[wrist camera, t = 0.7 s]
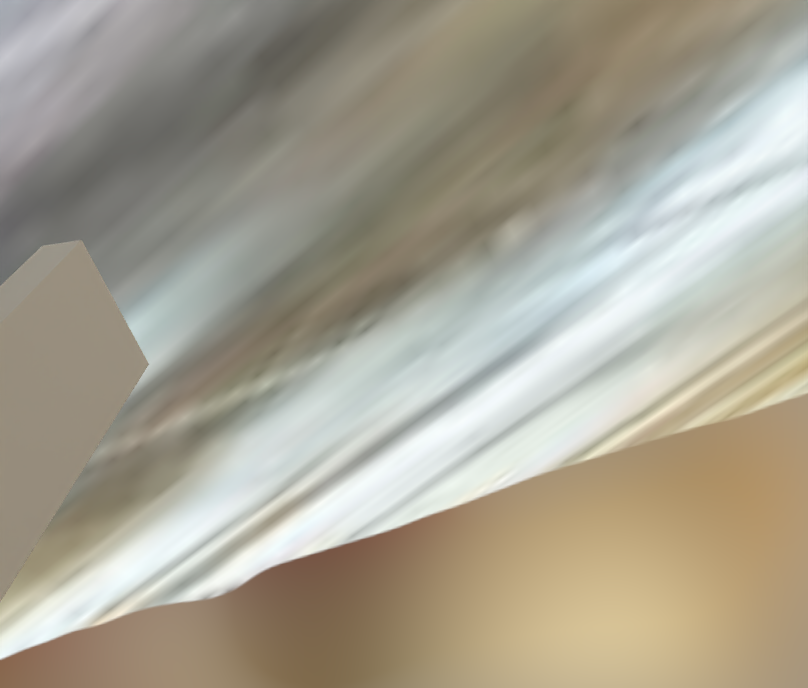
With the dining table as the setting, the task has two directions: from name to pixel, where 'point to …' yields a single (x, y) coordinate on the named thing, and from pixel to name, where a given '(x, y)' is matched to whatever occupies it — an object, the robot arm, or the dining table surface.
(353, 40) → the dining table surface
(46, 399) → the robot arm
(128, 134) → the dining table surface
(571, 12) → the dining table surface
